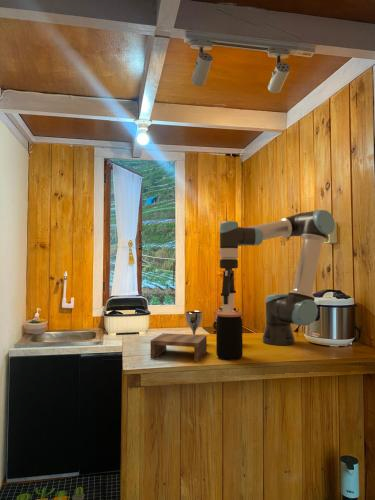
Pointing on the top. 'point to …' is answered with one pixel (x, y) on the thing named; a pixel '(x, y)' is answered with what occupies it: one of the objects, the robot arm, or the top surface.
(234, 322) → the coffee jar
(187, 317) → the wine glass
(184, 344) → the walnut shelf
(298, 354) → the top surface
